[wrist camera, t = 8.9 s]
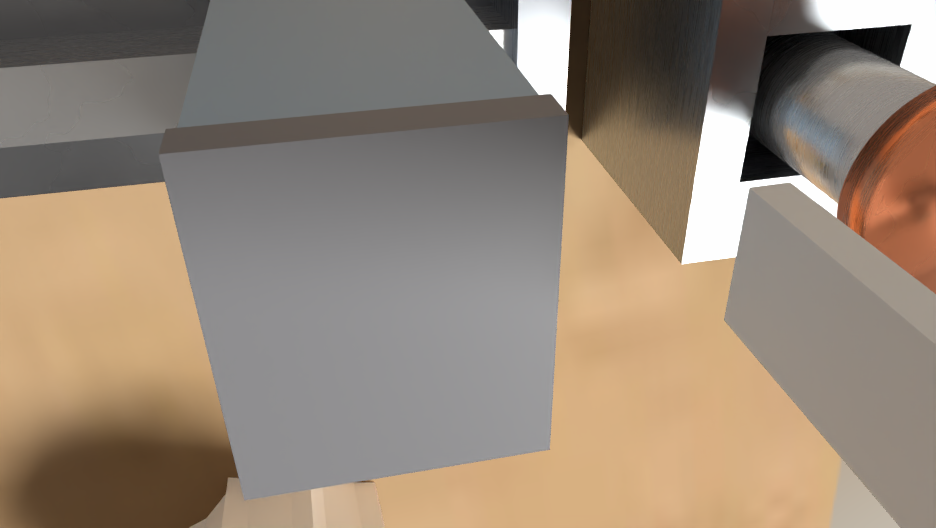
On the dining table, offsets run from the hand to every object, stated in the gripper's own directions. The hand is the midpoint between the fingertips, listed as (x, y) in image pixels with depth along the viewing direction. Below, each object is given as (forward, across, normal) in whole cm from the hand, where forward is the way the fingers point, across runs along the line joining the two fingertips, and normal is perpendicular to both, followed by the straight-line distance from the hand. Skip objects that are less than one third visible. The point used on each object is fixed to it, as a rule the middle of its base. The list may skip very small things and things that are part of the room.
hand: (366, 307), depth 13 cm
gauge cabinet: (+13, +12, 0) cm, 17 cm away
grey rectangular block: (+12, 0, 0) cm, 12 cm away
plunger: (+9, +11, 0) cm, 15 cm away
